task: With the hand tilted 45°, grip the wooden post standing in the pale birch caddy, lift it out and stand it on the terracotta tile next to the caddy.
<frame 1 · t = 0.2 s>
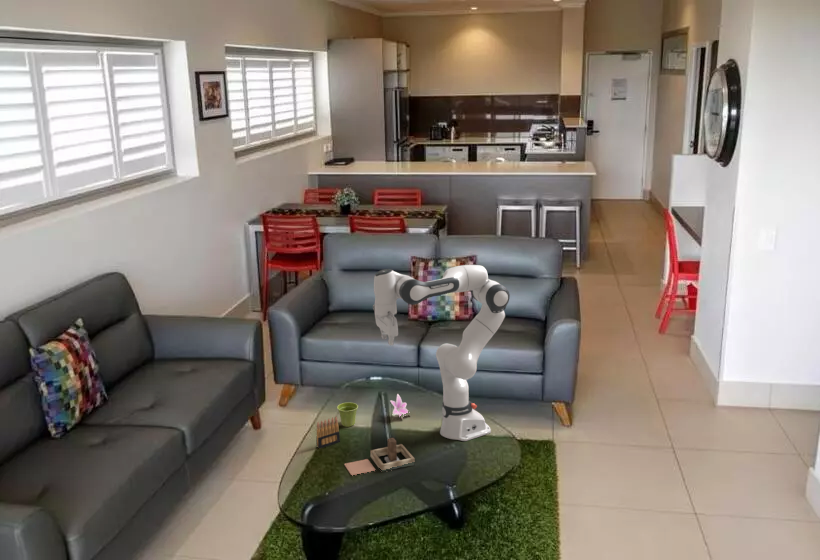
hand: (387, 341, 306), 47 cm above the table, tool pointing down, fingers open, 8 cm apart
birch caddy: (392, 461, 304), on the table
plant pot: (348, 424, 339), on the table
ammunition clip: (328, 445, 320), on the table
terracotta tile: (359, 467, 299), on the table
lily: (399, 417, 345), on the table
wooden post: (392, 450, 303), in the birch caddy
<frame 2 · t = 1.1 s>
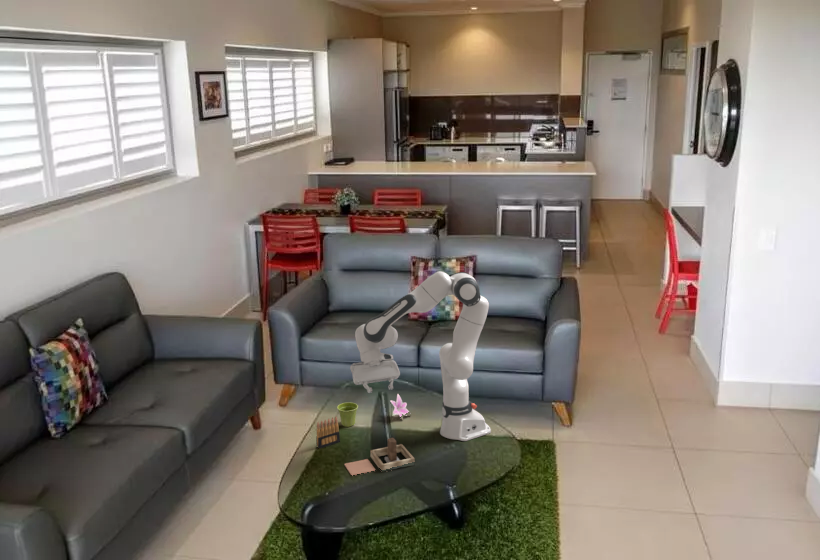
hand: (380, 390, 308), 27 cm above the table, tool tilted 45°, fingers open, 8 cm apart
nothing on the table moved.
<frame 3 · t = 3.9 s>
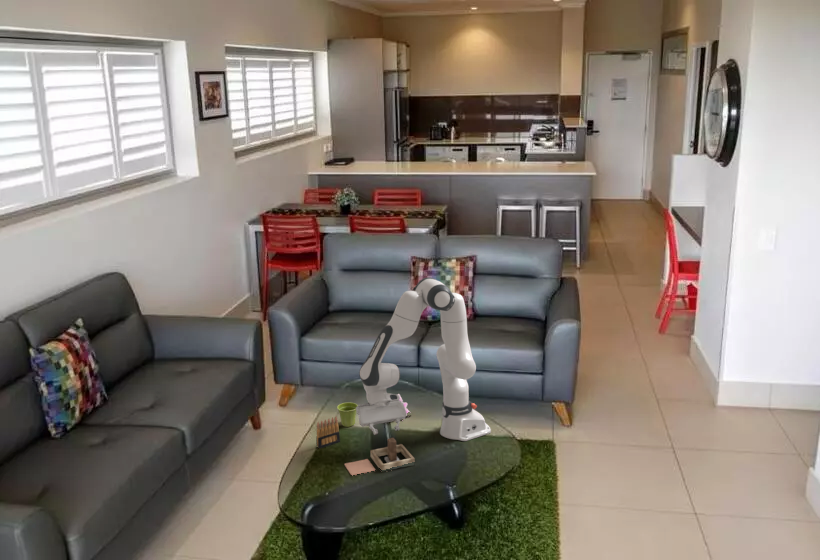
hand: (386, 432, 306), 11 cm above the table, tool tilted 45°, fingers open, 8 cm apart
nothing on the table moved.
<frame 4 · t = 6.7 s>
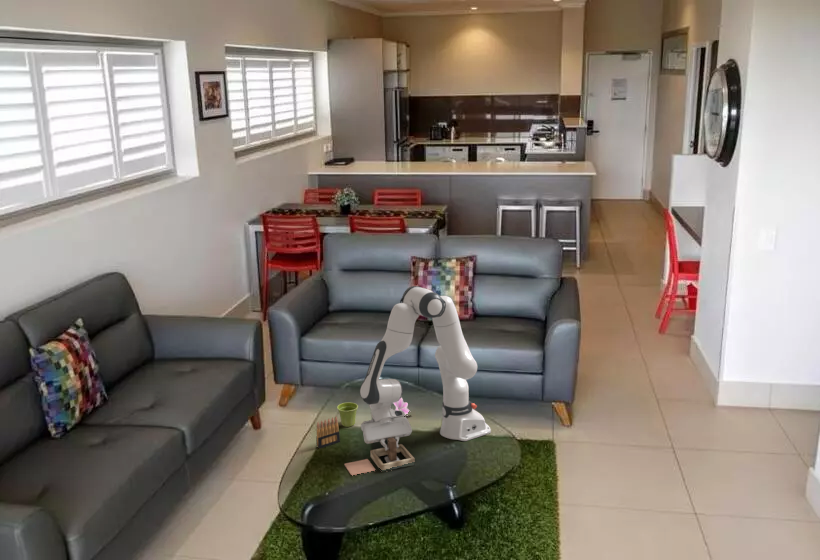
hand: (392, 449, 303), 5 cm above the table, tool tilted 45°, fingers closed on wooden post, 2 cm apart
wooden post: (392, 450, 303), in the birch caddy, touching gripper
everything else where it was.
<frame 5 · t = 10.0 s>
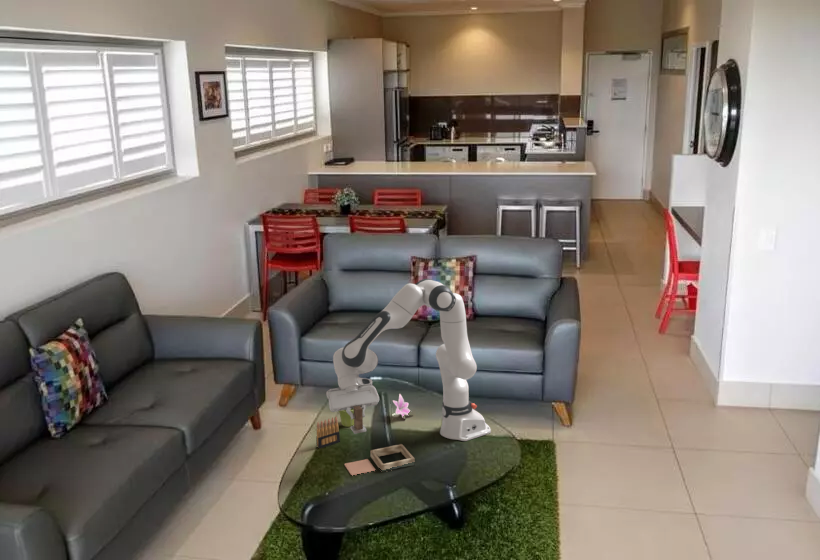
hand: (358, 417, 294), 22 cm above the table, tool tilted 45°, fingers closed on wooden post, 2 cm apart
wooden post: (358, 419, 294), point 21 cm above the table, touching gripper
when the fingers open (7 cm above the table, at t = 13.4 s): wooden post drops 1 cm, resting on terracotta tile.
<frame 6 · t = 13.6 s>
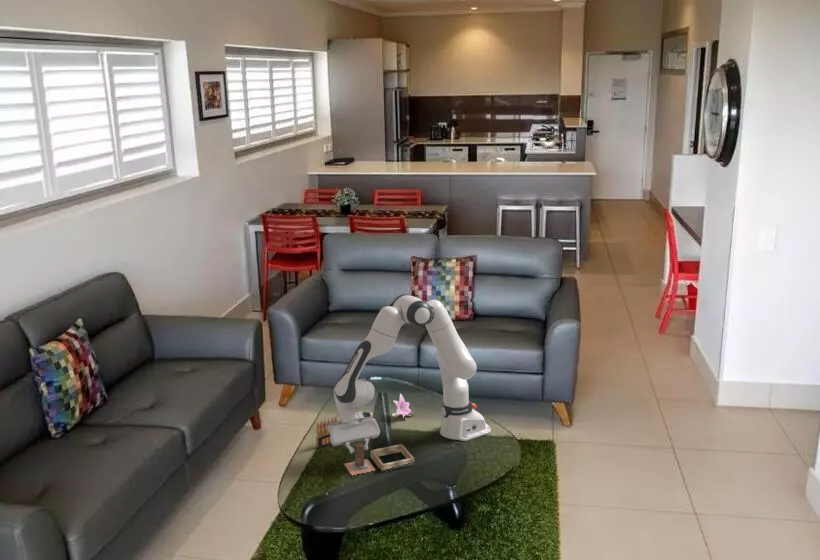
hand: (359, 451, 298), 7 cm above the table, tool tilted 45°, fingers open, 4 cm apart
wooden post: (359, 456, 298), on the terracotta tile
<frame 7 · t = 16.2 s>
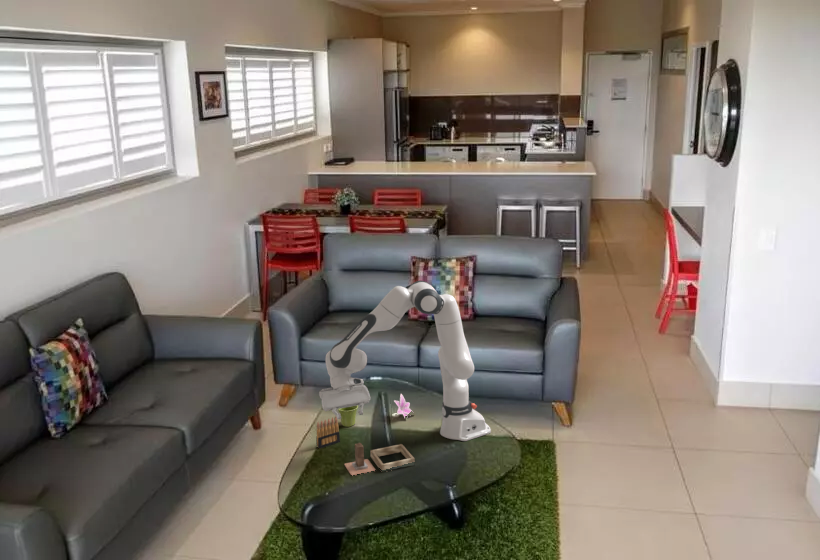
hand: (350, 416, 305), 18 cm above the table, tool tilted 45°, fingers open, 8 cm apart
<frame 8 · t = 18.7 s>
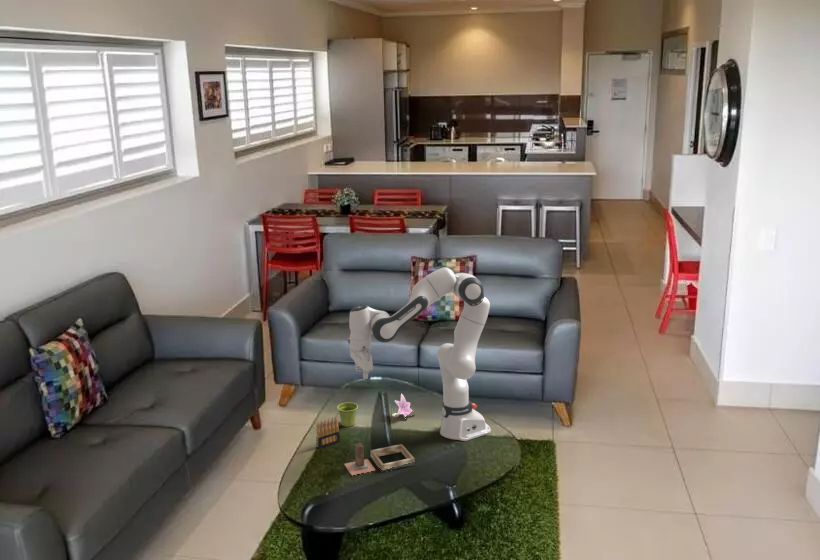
hand: (361, 374, 314), 31 cm above the table, tool pointing down, fingers open, 8 cm apart
at the end: wooden post inside the target area (0.0 cm from its centre), point 5.2 cm above the table; wooden post tilted 0°; the gripper is holding nothing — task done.
